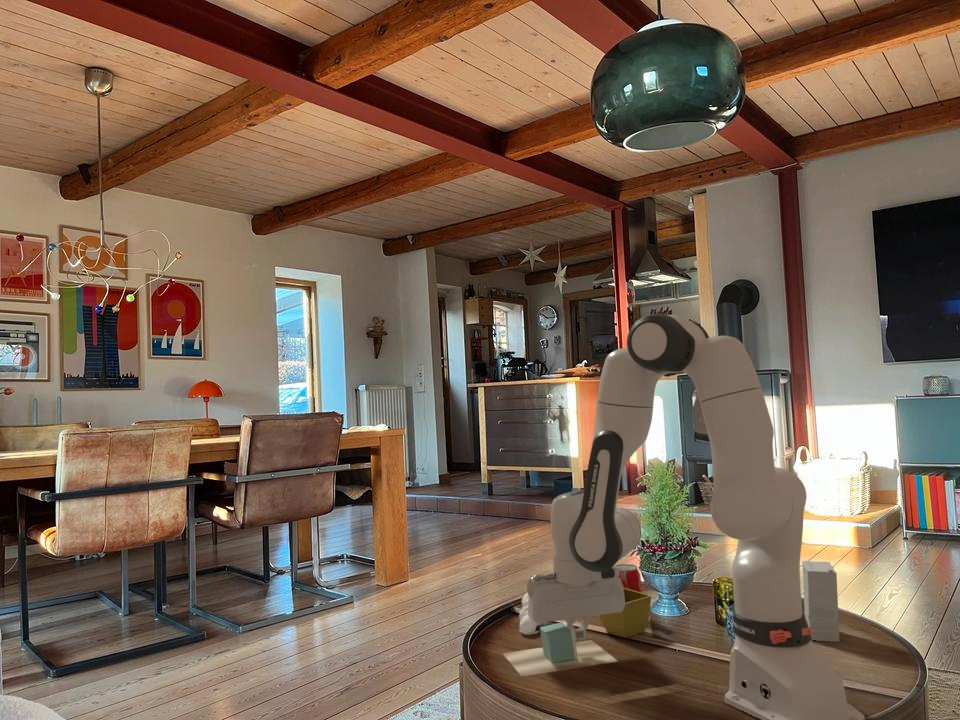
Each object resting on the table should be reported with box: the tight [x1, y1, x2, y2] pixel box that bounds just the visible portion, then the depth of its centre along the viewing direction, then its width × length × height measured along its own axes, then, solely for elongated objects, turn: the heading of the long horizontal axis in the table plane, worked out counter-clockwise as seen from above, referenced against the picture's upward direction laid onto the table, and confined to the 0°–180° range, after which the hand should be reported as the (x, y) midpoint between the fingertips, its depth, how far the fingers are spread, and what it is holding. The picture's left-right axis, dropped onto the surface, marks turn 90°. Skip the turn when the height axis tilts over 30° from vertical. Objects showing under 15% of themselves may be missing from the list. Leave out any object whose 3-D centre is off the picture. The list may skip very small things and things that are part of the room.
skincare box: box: [801, 560, 840, 643], centre depth 153 cm, size 8×6×15 cm
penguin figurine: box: [518, 592, 549, 636], centre depth 164 cm, size 6×8×12 cm
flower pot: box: [599, 588, 652, 639], centre depth 158 cm, size 9×9×9 cm
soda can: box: [614, 563, 643, 593], centre depth 170 cm, size 7×7×12 cm
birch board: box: [502, 639, 619, 678], centre depth 145 cm, size 13×20×1 cm, turn 105°
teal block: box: [539, 621, 578, 664], centre depth 145 cm, size 6×6×6 cm
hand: (578, 638), depth 147 cm, fingers closed
